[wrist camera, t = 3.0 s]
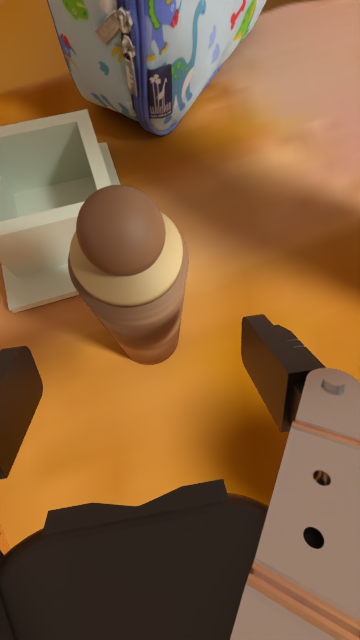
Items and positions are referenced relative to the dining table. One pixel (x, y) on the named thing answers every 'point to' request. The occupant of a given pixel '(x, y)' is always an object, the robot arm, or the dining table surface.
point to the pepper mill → (131, 270)
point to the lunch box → (149, 51)
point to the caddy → (46, 202)
